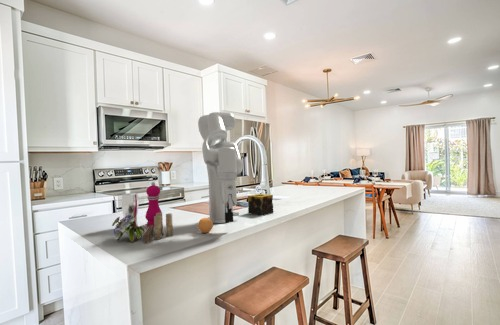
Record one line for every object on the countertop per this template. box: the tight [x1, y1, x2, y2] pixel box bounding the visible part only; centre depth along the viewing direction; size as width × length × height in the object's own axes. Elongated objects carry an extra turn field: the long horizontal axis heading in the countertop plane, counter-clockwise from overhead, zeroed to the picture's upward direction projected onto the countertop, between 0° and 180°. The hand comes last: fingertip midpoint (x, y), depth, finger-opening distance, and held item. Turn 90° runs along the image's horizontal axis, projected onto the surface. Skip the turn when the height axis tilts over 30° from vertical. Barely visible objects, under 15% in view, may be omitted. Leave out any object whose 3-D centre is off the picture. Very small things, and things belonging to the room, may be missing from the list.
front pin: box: [165, 213, 174, 238], centre depth 103 cm, size 2×2×8 cm
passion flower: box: [111, 212, 148, 243], centre depth 100 cm, size 11×11×12 cm
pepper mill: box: [145, 181, 163, 228], centre depth 120 cm, size 7×7×20 cm
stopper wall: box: [143, 225, 155, 244], centre depth 101 cm, size 2×15×3 cm, turn 14°
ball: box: [197, 217, 214, 234], centre depth 106 cm, size 6×6×6 cm
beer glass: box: [120, 192, 140, 228], centre depth 117 cm, size 7×7×15 cm
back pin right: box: [156, 212, 164, 236], centre depth 105 cm, size 2×2×8 cm
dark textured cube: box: [247, 193, 274, 216], centre depth 143 cm, size 10×10×10 cm
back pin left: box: [153, 216, 162, 241], centre depth 99 cm, size 2×2×8 cm
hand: (229, 221), depth 107 cm, fingers closed
